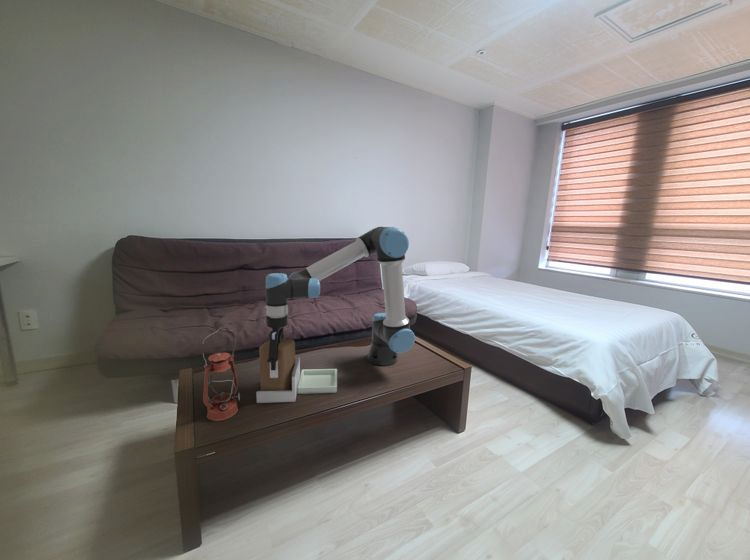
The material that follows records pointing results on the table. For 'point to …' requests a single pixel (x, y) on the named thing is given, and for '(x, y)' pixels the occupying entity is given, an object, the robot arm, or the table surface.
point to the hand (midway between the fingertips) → (277, 368)
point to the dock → (282, 395)
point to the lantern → (222, 402)
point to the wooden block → (284, 366)
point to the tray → (317, 381)
